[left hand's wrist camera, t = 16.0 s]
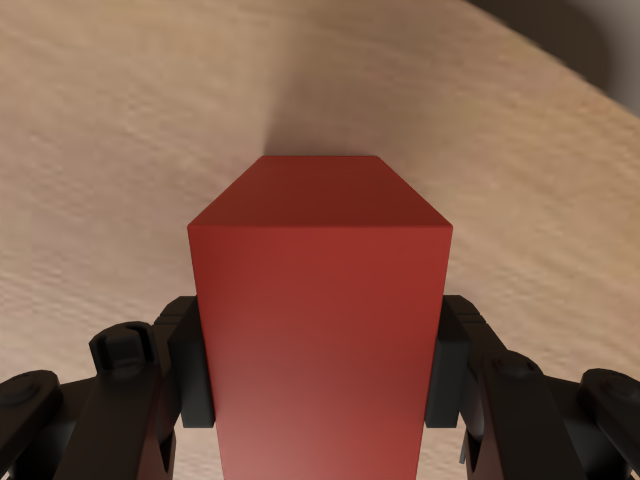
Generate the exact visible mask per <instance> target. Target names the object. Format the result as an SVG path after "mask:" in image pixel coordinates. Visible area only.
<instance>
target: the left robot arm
mask: <svg viewBox="0 0 640 480" xmlns="http://www.w3.org/2000/svg"><path fill="white" fill-rule="evenodd" d="M89 347H90V350H91V354H92V357H93V360H94V364H95V367H96V371H97V375H96V377H92V378H89V379H84V380H80V381H75V382H70V383H66V384H61V385H60V383H59V380H58V377H57V375H56V374H55V373H53V372H52V371H47V370H37V371H30V372H26V373H22V374H19V375H17V376H14V377H12V378H10V379H9V380H7V381H5V382H3V383H1V384H0V480H1V478H2V477H3V476H4V475H5V473H6V472H7V471H8V472H9V474H10V476H9V477H8V478H7V479H6V480H172V478H173V468H174V459H175V449H176V437H175V431H174V426H175V423H176V421H177V419H178V417H179V414H180V412H181V417H182V422H183V427H184V428H213V426H214V423H215V415H214V408H213V401H212V394H211V387H210V380H209V374H208V367H207V360H206V353H205V346H204V339H203V333H202V326H201V319H200V312H199V305H198V298H197V295H196V296H180V297H178V298H177V299H175V300H174V301H172V302H171V303H169V304H168V305H167V306H166V307H165V308H164V310H163V311H162V312H161V314H160V316H158V318H157V319H156V320H155V322H154V325H152V326H151V325H149V324H148V323H145V322H140V321H133V322H125V323H121V324H116V325H114V326H111V327H109V328H107V329H104V330H103V331H101V332H100V333H98V334H97V335H95V336H94V337H93V339H92V340H91V341H90V342H89ZM459 411H460V413H461V416H462V418H463V420H464V422H465V424H466V431H465V436H464V441H463V446H462V450H461V455H460V462H459V463H461V464H464V462H465V458H466V467H467V477H468V480H635V479H634V478H633V476H632V475H631V471H632V469H633V470H634V471H635V472H636V474H637V475H638V476H639V477H640V382H639V381H637V380H635V379H633V378H631V377H629V376H627V375H625V374H622V373H619V372H616V371H613V370H607V369H601V368H596V369H589V370H587V371H586V372H585V373H584V374H583V376H582V379H581V382H580V383H576V382H572V381H567V380H563V379H558V378H553V377H550V376H546V375H544V374H543V372H542V371H541V369H540V368H539V367H538V365H537V364H536V363H534V362H533V361H532V360H530V359H529V358H528V357H526V356H524V355H522V354H519V353H517V352H514V351H510V350H507V348H506V347H505V346H504V344H503V343H502V342H501V340H500V339H499V338H498V336H497V335H496V334H495V333H494V331H493V330H492V329H491V327H490V326H489V325H488V324H486V321H485V319H484V318H483V317H482V315H480V313H479V311H478V310H477V309H476V307H475V306H474V305H473V304H472V303H471V302H469V301H468V300H466V299H465V298H463V297H462V296H460V295H443V299H442V306H441V312H440V319H439V326H438V332H437V339H436V346H435V353H434V359H433V366H432V373H431V379H430V386H429V393H428V400H427V406H426V413H425V420H424V421H425V424H426V427H427V428H456V426H457V421H458V416H459Z"/></svg>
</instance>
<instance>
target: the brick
mask: <svg viewBox="0 0 640 480" xmlns="http://www.w3.org/2000/svg"><path fill="white" fill-rule="evenodd" d="M187 230H188V237H189V244H190V251H191V258H192V264H193V271H194V278H195V285H196V292H197V298H198V305H199V312H200V319H201V326H202V333H203V339H204V346H205V353H206V360H207V367H208V374H209V380H210V387H211V394H212V401H213V408H214V415H215V421H216V428H217V435H218V442H219V449H220V456H221V462H222V469H223V476H224V480H416V474H417V467H418V460H419V454H420V447H421V440H422V433H423V427H424V420H425V413H426V406H427V400H428V393H429V386H430V379H431V373H432V366H433V359H434V353H435V346H436V339H437V332H438V326H439V319H440V312H441V306H442V299H443V292H444V285H445V279H446V272H447V265H448V258H449V252H450V245H451V238H452V232H453V226H452V224H451V223H449V222H448V221H447V220H446V219H445V218H444V217H443V216H442V215H441V214H440V213H439V212H438V211H436V210H435V209H434V208H433V207H432V206H431V205H430V204H429V203H428V202H427V201H426V200H425V199H423V198H422V197H421V196H420V195H419V194H418V193H417V192H416V191H415V190H414V189H413V188H412V187H410V186H409V185H408V184H407V183H406V182H405V181H404V180H403V179H402V178H401V177H400V176H399V175H397V174H396V173H395V172H394V171H393V170H392V169H391V168H390V167H389V166H388V165H387V164H386V163H384V162H383V161H382V160H381V159H380V158H379V157H378V156H261V157H260V158H259V159H258V160H257V161H256V162H255V163H254V164H253V165H252V166H251V167H250V168H249V169H247V170H246V171H245V172H244V173H243V174H242V175H241V176H240V177H239V178H238V179H237V180H236V181H235V182H234V183H232V184H231V185H230V186H229V187H228V188H227V189H226V190H225V191H224V192H223V193H222V194H221V195H220V196H218V197H217V198H216V199H215V200H214V201H213V202H212V203H211V204H210V205H209V206H208V207H207V208H206V209H205V210H203V211H202V212H201V213H200V214H199V215H198V216H197V217H196V218H195V219H194V220H193V221H192V222H191V223H190V224H188V226H187Z"/></svg>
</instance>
